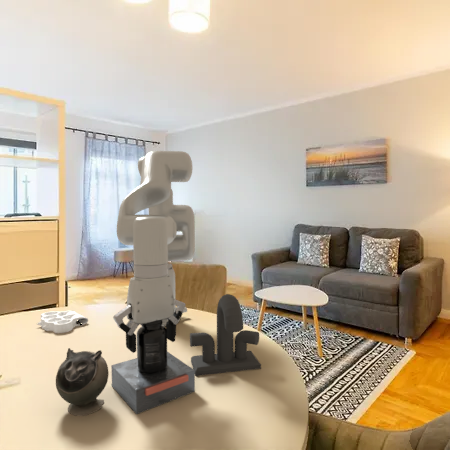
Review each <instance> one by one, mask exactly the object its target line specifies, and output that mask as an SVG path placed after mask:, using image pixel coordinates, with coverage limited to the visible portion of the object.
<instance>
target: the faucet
mask: <svg viewBox="0 0 450 450" xmlns="http://www.w3.org/2000/svg"><path fill="white" fill-rule="evenodd" d="M217 303H218V304H217V306H216V307H217V309H216V342H215V339H214V338H213V336H212V335H211V334H209V333H208V332H192V333H191V332H190V333H189V344H190V347H202V348H201V352H202V353H201V354H199V355H193V356H191V357H190V363H191V366H192V369H194V370H195V377H198V376H199V377H200V376H206V375H208V376H209V375H214V374H215V375H216V374H225V373H233V372H234V373H235V372H242V371H243V372H244V371H251V370H261V369H262V364H261V363H260V361H259V360H258V358H257V357H256V356H255V354H254V353H253V352H252V350H250V349H249V350H247V349H248V344H249V345H255V346H257V345H258V344H259V342H260V332H259V331H255V330H254V331H253V330H244V319H243V312H242V308H241V305H240V302H239V299H237V297H236V296H234V295H233V294H229V293H226V294H224V295H222V296H221V297H220V298H219V299H218V302H217ZM234 333H236V335H235V338H234ZM215 343H216V345H215ZM215 346H216V347H215Z"/></svg>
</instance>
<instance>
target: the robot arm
mask: <svg viewBox="0 0 450 450" xmlns="http://www.w3.org/2000/svg"><path fill="white" fill-rule="evenodd" d="M137 169H138V174H139V176H140V183H139V185H138V186H137V187H136V188H134V189H133V190H132V191H131V192H129V193H128V194H127V195H126V196H125V197H124V199H122V201H121V204H120V206H119V209H118V216H117V222H116V223H117V224H116V237H117V239H118V242H120V243H121V244H122V245H125V246H133V277H130V280H129V283H128V288H127V295H126V296H127V298H126V306H125V307H124V308H122V309H121V310H119V311H118V312H117V313H116V314H114V315H113V317H112V318H113V320H114V322H115V323H116V325H117V327H118V328H119V329H120V330H122V331H123V332H124V333H125V346H126V348H127V349H128V350H129V351H130V352H131V353H132V354H133V353H137V333H135V332H136V330H138V327H139V326H141V324H146V323H150V322H153V321H156V320H162V321H163V323H162V324H161V325H163V326H164V327H165V328H166V330H167V341H168V340H169V341H170V342H172V343H173V342H176V336H177V324H178V323H179V322H180V320H181V319H180V318H182V315H183V314H185V313H187V312H188V308H187V307H186V303H185V302H183V301H182V300H181V301H180V300H177V299H176V273H175V270H174V268H173V264H172V263H169V262H178V261H179V262H181V261H190V260H193V259H194V256H195V250H196V248H195V246H196V245H195V243H196V241H195V232H196V231H195V230H196V229H195V213H194V210H193V208H192V206H190V205H186V204H174V198H173V196H174V193H173V188H172V183H188V182H189V181H190V179H191V177H192V174H193V161H192V158H191V156H190V154H189V153H187V152H185V151H181V150H176V151H175V150H152V151H149V152H148V153H146V154H145V155H144V156H143V157H140V158H139V160H138V161H137ZM146 209H148V214H138V213H139V212H141V211H143V210H146ZM178 232H180V233H181V234H178ZM125 317H126V319H127V320H128V322H127V323H126V324H125V321H124V318H125Z"/></svg>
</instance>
